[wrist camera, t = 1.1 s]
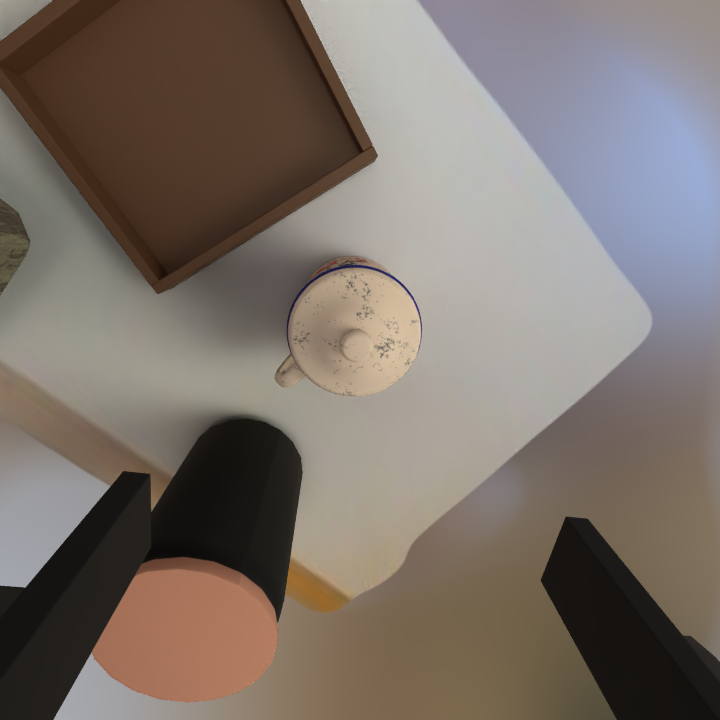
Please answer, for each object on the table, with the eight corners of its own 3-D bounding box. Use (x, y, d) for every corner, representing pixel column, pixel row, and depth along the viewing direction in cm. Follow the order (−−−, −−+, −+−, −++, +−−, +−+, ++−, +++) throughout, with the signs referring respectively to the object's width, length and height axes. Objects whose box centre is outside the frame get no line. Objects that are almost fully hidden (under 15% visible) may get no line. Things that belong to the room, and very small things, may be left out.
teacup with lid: (360, 229, 33) (370, 237, 22) (424, 314, 36) (460, 359, 25) (251, 319, 36) (212, 366, 25) (319, 393, 38) (310, 466, 27)
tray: (10, 72, 29) (-23, 58, 26) (241, -103, 26) (230, -139, 24) (171, 288, 34) (157, 294, 32) (375, 160, 32) (378, 156, 29)
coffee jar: (171, 467, 40) (48, 653, 23) (236, 391, 38) (151, 535, 21) (260, 523, 43) (207, 726, 26) (325, 455, 40) (315, 629, 23)
